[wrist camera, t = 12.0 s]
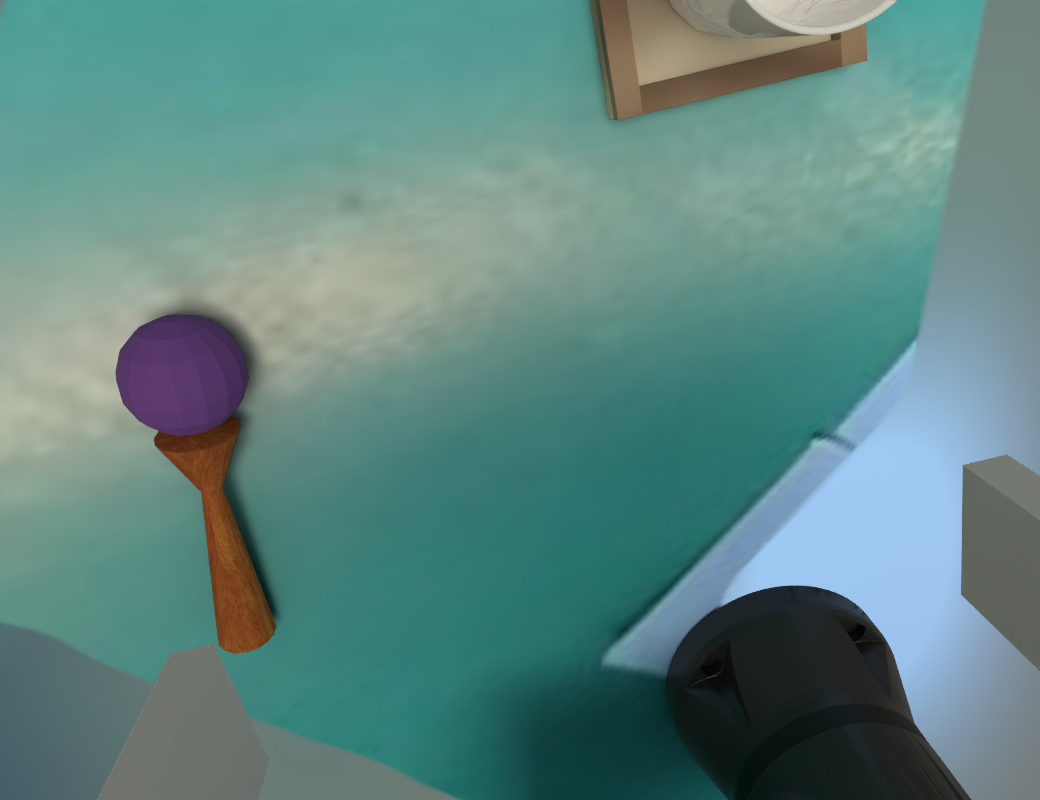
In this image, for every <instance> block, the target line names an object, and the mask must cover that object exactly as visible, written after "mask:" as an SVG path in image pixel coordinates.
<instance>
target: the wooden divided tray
mask: <svg viewBox="0 0 1040 800" xmlns="http://www.w3.org/2000/svg"><path fill="white" fill-rule="evenodd" d="M590 4H591V10H592V17H593V23H594V29H595V35H596V41H597V47H598V54H599V60H600V66H601V72H602V78H603V84H604V91H605V97H606V103H607V109H608V115H609V119H615V120H620V119H624V118H629V117H633V116H637V115H641V114H645V113H649V112H654V111H658V110H662V109H666V108H670V107H675V106H679V105H683V104H687V103H691V102H696V101H700V100H704V99H708V98H712V97H716V96H721V95H725V94H729V93H733V92H737V91H742V90H746V89H750V88H754V87H758V86H763V85H767V84H771V83H775V82H779V81H783V80H788V79H792V78H796V77H800V76H804V75H809V74H813V73H817V72H821V71H825V70H829V69H834V68H838V67H842V66H846V65H850V64H855V63H859V62H863V61H867V41H866V23H864V24H862V25H860V26H858V27H855V28H853V29H850V30H847V31H843V32H839V33H835V34H828V35H812V36H795V37H781V38H739V37H729V38H727V37H722V36H718V35H714V34H710V33H705V32H701V31H697V30H695V29H694V28H693V27H692V26H691V25H690V24H689V23H688V22H687V21H686V20H684V19H683V18H682V17H681V16H680V15H679V14H678V13H677V12H676V11H675V10H674V9H673V8H672V6H671V4H670V1H669V0H590Z"/></svg>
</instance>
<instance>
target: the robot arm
mask: <svg viewBox="0 0 1040 800" xmlns="http://www.w3.org/2000/svg"><path fill="white" fill-rule="evenodd" d="M962 502H963V503H962V573H961V574H962V576H961V595H962V596H963V597H964V598H966V600H967V601H968V602H969V603H970V604H972V605H973V606H974V607H975V608H976V609H977V610H978V611H979V612H980V613H981V614H982V615H983V616H984V617H985V618H986V619H987V620H988V621H989V622H990V623H991V624H992V625H993V626H994V627H995V628H996V629H997V630H998V631H999V632H1000V633H1001V634H1002V635H1003V636H1004V637H1005V638H1006V639H1008V640H1009V641H1010V642H1011V643H1012V644H1013V645H1014V646H1015V647H1016V648H1017V649H1018V650H1019V651H1020V652H1021V653H1022V654H1023V655H1024V656H1025V657H1026V658H1027V659H1028V660H1029V661H1030V662H1031V663H1032V664H1033V665H1034V666H1036V667H1037V669H1038V670H1039V671H1040V476H1039V475H1038V474H1036V473H1034V472H1033V471H1031V470H1030V469H1028V468H1026V467H1025V466H1024V465H1022V464H1020V463H1019V462H1017V461H1016V460H1014V459H1013V458H1011V457H1009V456H1008V455H1004V456H999V457H995V458H991V459H987V460H982V461H978V462H974V463H970V464H966V465H963V501H962ZM666 699H667V705H668V709H669V712H670V715H671V717H672V720H673V723H674V726H675V728H676V731H677V734H678V736H679V738H680V741H681V742H682V744H683V746H684V747H685V749H686V751H687V752H688V753H689V755H690V756H691V757H692V758H693V759H694V761H695V762H696V763H697V764H698V765H699V766H700V768H701V769H702V770H703V771H704V772H705V773H706V774H707V776H708V777H709V778H710V779H711V780H712V781H713V783H714V784H715V785H716V786H717V787H718V788H719V789H720V791H721V792H722V793H723V794H724V795H725V796H726V798H727V799H728V800H971V798H970V797H969V796H968V794H967V793H966V792H965V790H964V789H963V788H962V786H961V785H960V784H959V782H958V781H957V780H956V778H955V777H954V776H953V774H952V773H951V772H950V770H949V769H948V768H947V766H946V765H945V764H944V762H943V761H942V760H941V758H940V757H939V756H938V755H937V753H936V752H935V750H934V749H933V748H932V747H931V746H930V744H929V743H928V742H927V740H926V739H925V737H924V736H923V735H922V733H921V732H920V731H919V729H918V728H917V726H916V725H915V724H914V720H913V717H912V714H911V710H910V707H909V704H908V701H907V697H906V694H905V691H904V688H903V684H902V681H901V678H900V675H899V671H898V668H897V665H896V661H895V658H894V655H893V653H892V651H891V648H890V647H889V645H888V643H887V641H886V640H885V638H884V636H883V635H882V633H881V632H880V631H879V630H878V628H877V627H876V626H875V625H874V623H873V622H872V621H871V620H870V619H869V617H868V616H867V615H866V614H865V612H864V611H863V610H862V609H860V607H858V606H857V605H856V604H855V603H853V602H852V601H850V600H849V599H847V598H845V597H843V596H842V595H839V594H837V593H835V592H832V591H829V590H825V589H822V588H817V587H810V586H780V587H773V588H768V589H763V590H760V591H756V592H753V593H750V594H747V595H745V596H742V597H740V598H737V599H735V600H733V601H731V602H729V603H727V604H725V605H724V606H722V607H720V608H719V609H717V610H716V611H714V612H713V613H711V614H710V615H709V616H707V617H706V618H705V619H704V620H703V621H701V622H700V623H699V624H698V625H697V626H696V627H695V628H694V629H693V630H692V631H691V632H690V634H689V635H688V636H687V637H686V638H685V640H684V641H683V643H682V644H681V645H680V647H679V649H678V650H677V652H676V654H675V656H674V658H673V660H672V663H671V665H670V668H669V672H668V676H667V682H666ZM268 761H269V758H268V756H267V754H266V752H265V750H264V748H263V745H262V743H261V741H260V739H259V737H258V735H257V733H256V731H255V729H254V727H253V725H252V723H251V720H250V718H249V716H248V714H247V712H246V710H245V708H244V706H243V704H242V702H241V700H240V698H239V695H238V693H237V691H236V689H235V687H234V685H233V683H232V681H231V679H230V677H229V675H228V673H227V670H226V668H225V666H224V664H223V662H222V660H221V658H220V656H219V654H218V652H217V650H216V648H215V645H214V644H210V645H205V646H201V647H197V648H193V649H189V650H184V651H180V652H176V653H172V654H170V655H169V657H168V659H167V661H166V663H165V665H164V667H163V669H162V671H161V673H160V675H159V677H158V679H157V681H156V683H155V685H154V687H153V689H152V691H151V693H150V695H149V697H148V699H147V701H146V703H145V705H144V707H143V709H142V711H141V713H140V715H139V717H138V719H137V721H136V723H135V725H134V727H133V729H132V731H131V733H130V735H129V737H128V739H127V741H126V743H125V745H124V747H123V749H122V751H121V753H120V755H119V757H118V759H117V761H116V763H115V765H114V767H113V769H112V771H111V773H110V775H109V777H108V779H107V781H106V783H105V785H104V787H103V789H102V791H101V793H100V795H99V797H98V799H97V800H258V798H259V794H260V790H261V787H262V783H263V779H264V776H265V772H266V768H267V764H268Z"/></svg>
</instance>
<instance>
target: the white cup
mask: <svg viewBox="0 0 1040 800" xmlns="http://www.w3.org/2000/svg"><path fill="white" fill-rule="evenodd" d="M669 1H670V4H671V6H672V8H673V9H674V10H675V11H676V12H677V13H678V14H679V15H680V16H681V17H682V18H683V19H684V20H686V21H687V22H688V23H689V24H690V25H691V26H692V27H693V28H694V29H695V30H697V31H701V32H705V33H710V34H714V35H718V36H722V37H727V38H729V37H739V38H781V37H795V36H812V35H828V34H835V33H839V32H843V31H847V30H850V29H853V28H855V27H858V26H860V25H862V24H864V23H866V22H868V21H870V20H872V19H873V18H875V17H877V16H878V15H880V14H881V13H882V12H884V11H885V10H886V9H888V8H889V7H890V6H891V5H892V4H894V3H895V2H896V1H897V0H669Z"/></svg>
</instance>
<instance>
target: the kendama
mask: <svg viewBox="0 0 1040 800" xmlns="http://www.w3.org/2000/svg"><path fill="white" fill-rule="evenodd" d="M248 378H249V377H248V372H247V367H246V362H245V357H244V354H243V353H242V351H241V349H240V347H239V346H238V344H237V343H236V342H235V340H234V339H233V338H232V336H231V335H230V334H229V332H228V331H227V330H225V329H224V328H222V327H220V326H218V325H217V324H215V323H213V322H211V321H210V320H208V319H206V318H203V317H201V316H191V315H178V314H174V315H166V316H163V317H160V318H158V319H155V320H153V321H151V322H148V323H146V324H144V325H142V326H140V327H139V328H138V329H137V330H136V331H135V332H134V333H133V334H132V336H131V337H130V338H129V339H128V341H127V342H126V343H125V344H124V346H123V347H122V348H121V350H120V352H119V357H118V363H117V368H116V381H117V384H118V388H119V391H120V395H121V398H122V402H123V404H124V405H125V406H126V407H127V408H128V409H129V411H130V412H131V413H132V414H133V415H134V416H135V417H136V418H137V419H138V420H139V421H140V422H142V423H143V424H145V425H147V426H148V427H151V428H153V429H156V430H158V431H159V432H158V433H157V435H156V436H155V438H154V442H155V446H156V447H157V448H158V449H159V450H160V451H161V452H162V453H163V454H164V455H165V456H166V457H167V458H168V459H169V460H170V461H171V462H172V463H173V464H174V465H175V466H176V467H177V468H178V469H179V470H180V471H181V472H182V473H183V474H184V475H185V476H186V477H187V478H188V479H189V480H190V481H191V482H192V483H193V484H194V485H195V486H196V487H197V488H198V489H199V490H200V491H201V493H202V502H203V511H204V520H205V529H206V538H207V547H208V555H209V564H210V573H211V582H212V591H213V600H214V609H215V617H216V626H217V635H218V641H219V646H220V647H221V648H223V649H224V650H225V651H228V652H232V653H244V652H249V651H252V650H254V649H257V648H259V647H261V646H262V645H264V644H265V643H267V642H268V641H269V640H270V638H271V637H272V636H273V635H274V632H275V629H276V624H275V621H274V619H273V616H272V613H271V611H270V608H269V606H268V603H267V600H266V598H265V595H264V593H263V590H262V587H261V585H260V582H259V580H258V577H257V575H256V572H255V569H254V567H253V564H252V562H251V559H250V556H249V554H248V551H247V549H246V546H245V543H244V541H243V538H242V536H241V533H240V530H239V528H238V525H237V523H236V520H235V518H234V515H233V512H232V510H231V507H230V505H229V502H228V499H227V497H226V494H225V492H224V489H223V484H224V480H225V477H226V474H227V470H228V467H229V464H230V460H231V457H232V454H233V450H234V447H235V444H236V440H237V437H238V434H239V430H240V427H241V425H240V422H239V420H238V419H237V418H235V417H233V416H231V415H232V414H233V412H234V411H235V410H236V409H237V408H238V407H239V405H240V403H241V401H242V399H243V397H244V393H245V390H246V386H247V382H248Z"/></svg>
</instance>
